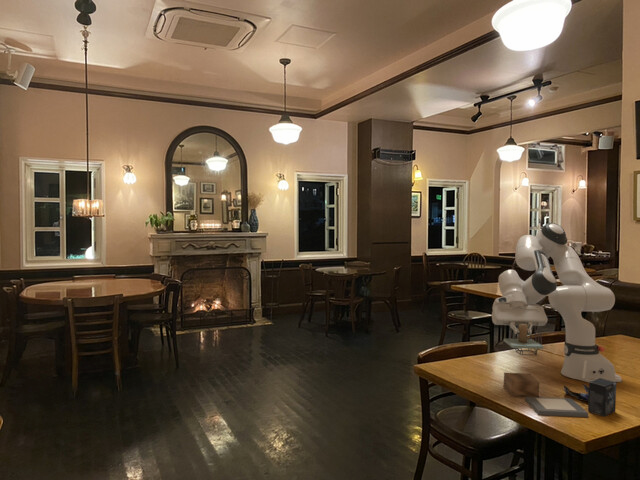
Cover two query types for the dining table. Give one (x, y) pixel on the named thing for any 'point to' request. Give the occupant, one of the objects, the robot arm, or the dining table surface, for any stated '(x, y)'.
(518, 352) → the geometric lantern
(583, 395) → the snack package
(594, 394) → the box
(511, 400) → the dining table surface
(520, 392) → the tea box
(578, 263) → the robot arm
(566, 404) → the gray rectangular tray
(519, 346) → the lid
